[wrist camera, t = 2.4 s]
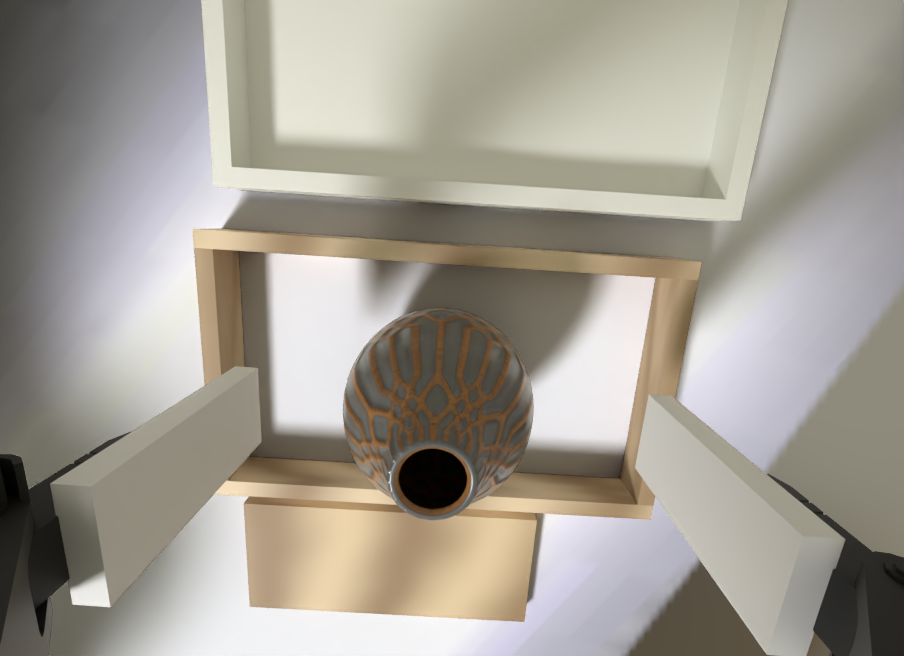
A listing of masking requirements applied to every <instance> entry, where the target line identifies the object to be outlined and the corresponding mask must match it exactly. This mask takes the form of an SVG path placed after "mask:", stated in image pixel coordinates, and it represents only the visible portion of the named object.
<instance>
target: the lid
mask: <svg viewBox="0 0 904 656" xmlns="http://www.w3.org/2000/svg"><path fill="white" fill-rule="evenodd" d="M244 515H245V532H246V549H247V566H248V583H249V600H250V607H265V608H283V609H301V610H319V611H337V612H356V613H374V614H392V615H410V616H428V617H446V618H464V619H482V620H501V621H519V622H524V620H525V612H526V604H527V596H528V588H529V581H530V573H531V565H532V557H533V549H534V541H535V533H536V526H537V518H536V515H535V513H528V512H511V511H494V510H477V509H464V510H463V511H462V512H460V513H459V514H457V515H455V516H453V517H450V518H447V519H443V520H424V519H420V518H417V517H414V516H412V515H410V514H408V513H406V512H405V511H403V510H402V509H401V508H400V507H399V506H398V505H390V504H373V503H356V502H339V501H321V500H304V499H287V498H270V497H252V496H249V497H248V499H247V500H246V501H245V503H244Z"/></svg>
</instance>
